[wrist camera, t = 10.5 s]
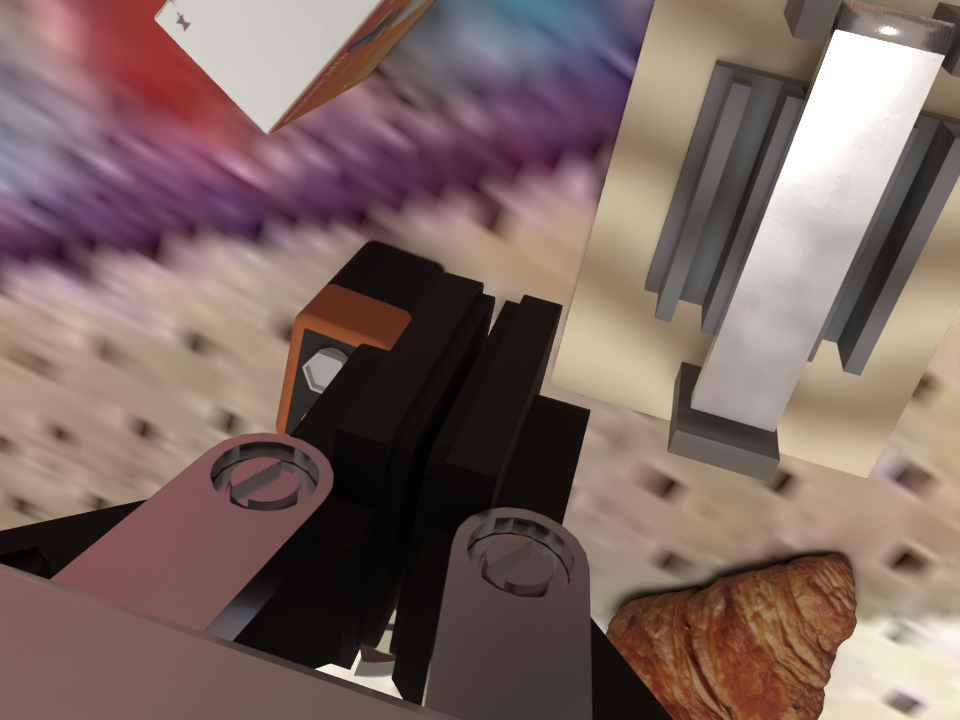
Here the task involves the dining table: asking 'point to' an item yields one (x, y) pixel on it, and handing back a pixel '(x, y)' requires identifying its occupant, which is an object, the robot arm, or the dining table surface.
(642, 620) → the pastry
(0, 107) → the dining table surface
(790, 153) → the clamp bar
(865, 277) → the heatsink board
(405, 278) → the battery
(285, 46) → the small box
